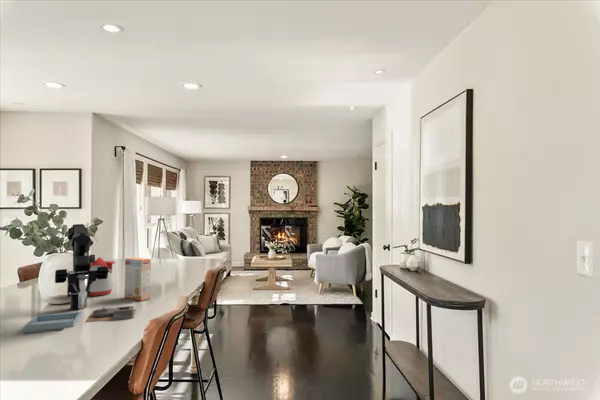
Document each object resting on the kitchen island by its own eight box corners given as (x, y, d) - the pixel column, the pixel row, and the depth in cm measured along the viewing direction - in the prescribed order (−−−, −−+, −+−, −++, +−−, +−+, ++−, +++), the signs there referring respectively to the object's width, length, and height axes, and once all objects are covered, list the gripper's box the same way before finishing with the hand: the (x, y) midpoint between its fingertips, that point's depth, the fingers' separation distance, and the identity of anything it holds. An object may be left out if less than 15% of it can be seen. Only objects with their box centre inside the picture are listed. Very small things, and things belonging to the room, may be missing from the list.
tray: (36, 322, 153) (36, 315, 153) (80, 319, 158) (81, 312, 158) (24, 333, 140) (24, 325, 140) (73, 329, 145) (73, 321, 145)
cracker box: (150, 299, 194) (151, 258, 194) (140, 301, 189) (141, 260, 189) (134, 295, 201) (135, 256, 202) (123, 298, 196) (124, 258, 197)
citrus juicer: (94, 299, 194) (95, 260, 194) (76, 294, 203) (77, 257, 204) (122, 293, 207) (123, 257, 208) (104, 289, 216) (105, 255, 217)
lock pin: (81, 306, 153) (81, 273, 153) (90, 306, 152) (91, 274, 152) (74, 308, 149) (75, 275, 149) (83, 309, 148) (84, 275, 148)
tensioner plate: (91, 315, 164) (91, 304, 164) (136, 311, 170) (136, 301, 171) (84, 325, 150) (84, 313, 150) (133, 320, 156) (133, 309, 157)
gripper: (55, 249, 149) (55, 282, 140) (108, 247, 159) (111, 277, 150) (55, 266, 155) (54, 299, 146) (105, 263, 166) (108, 293, 156)
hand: (82, 291), depth 149 cm, fingers closed on lock pin, 3 cm apart
